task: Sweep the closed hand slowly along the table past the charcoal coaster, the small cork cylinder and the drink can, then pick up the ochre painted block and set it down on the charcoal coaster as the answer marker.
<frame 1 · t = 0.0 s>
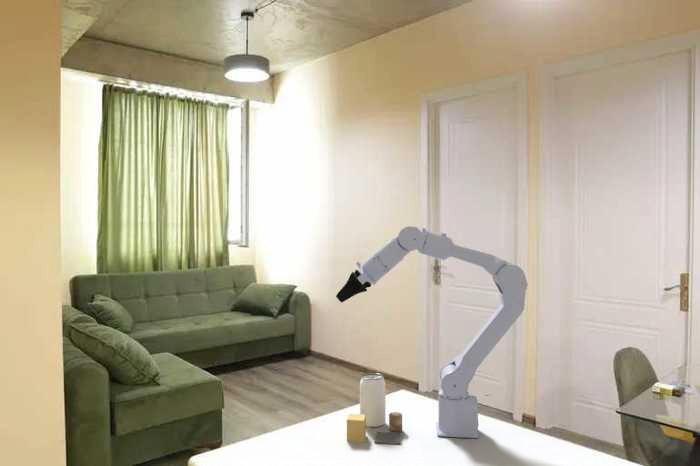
hand: (340, 297, 133), 32 cm above the table, tool tilted 50°, fingers open, 7 cm apart
ochre block: (356, 438, 125), on the table
can: (372, 424, 135), on the table
cork cylinder: (395, 430, 130), on the table
coaster: (388, 438, 125), on the table
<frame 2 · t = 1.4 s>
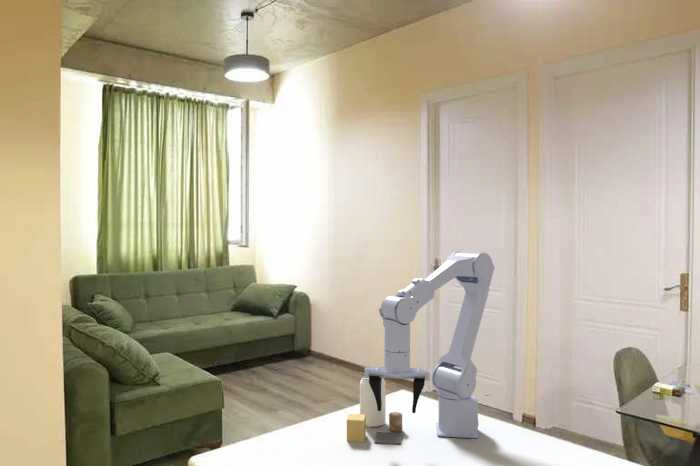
hand: (396, 410, 119), 9 cm above the table, tool pointing down, fingers open, 7 cm apart
nothing on the table moved.
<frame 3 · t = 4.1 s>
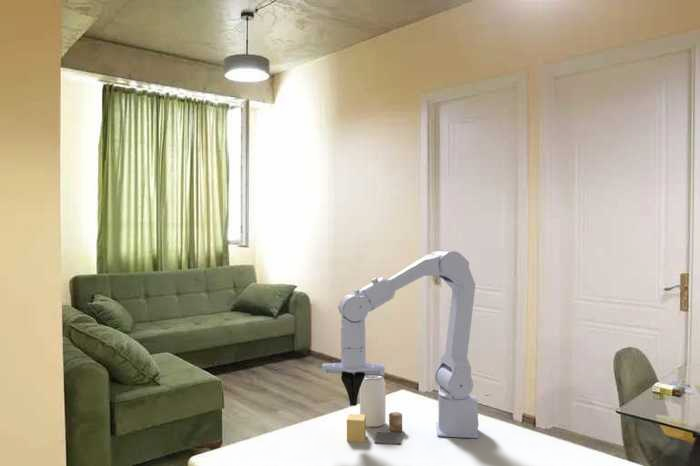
hand: (353, 404, 124), 8 cm above the table, tool pointing down, fingers closed
nothing on the table moved.
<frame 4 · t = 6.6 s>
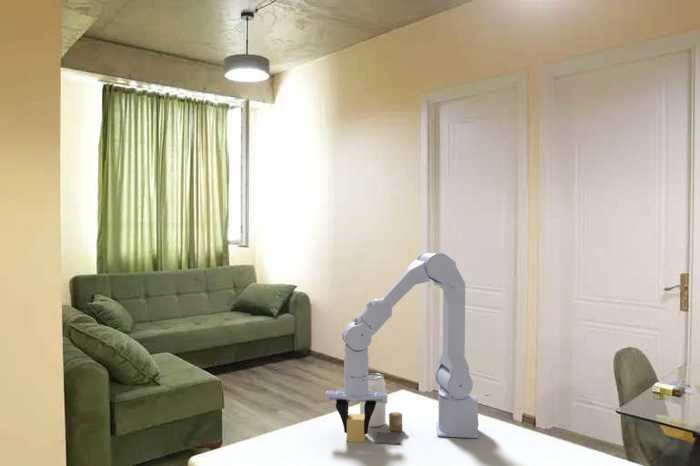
hand: (356, 432, 125), 1 cm above the table, tool pointing down, fingers closed on ochre block, 4 cm apart
ochre block: (356, 438, 125), on the table, touching gripper
everything else where it was.
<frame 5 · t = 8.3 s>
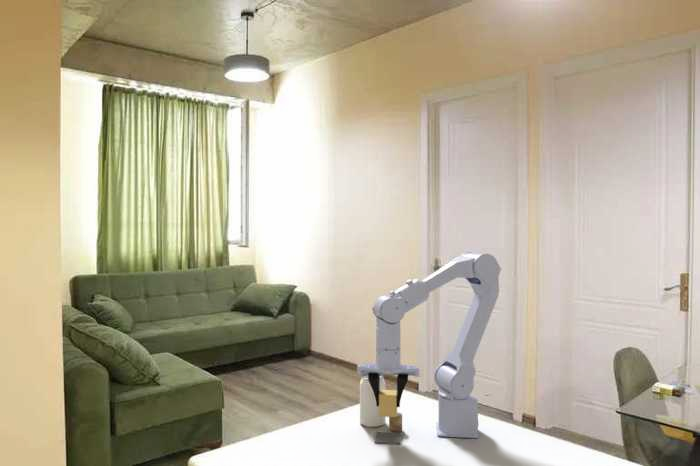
hand: (388, 405, 125), 8 cm above the table, tool pointing down, fingers closed on ochre block, 4 cm apart
ochre block: (388, 413, 125), point 6 cm above the table, touching gripper
everything else where it was.
when the fingers open (3 cm above the table, at t = 9.8 s): ochre block drops 1 cm, resting on coaster.
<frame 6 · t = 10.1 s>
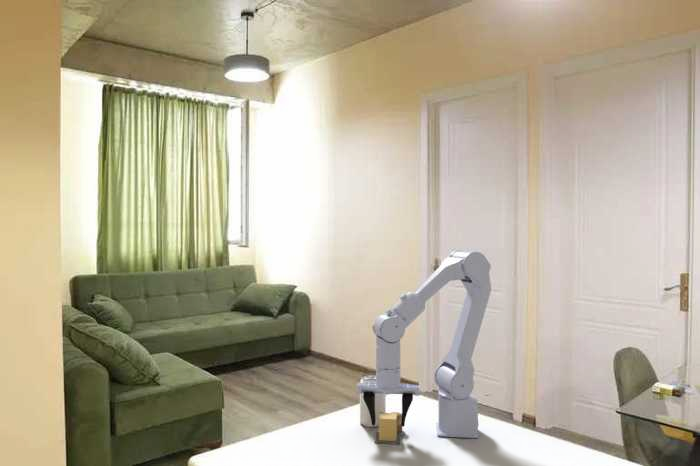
hand: (388, 424, 125), 3 cm above the table, tool pointing down, fingers open, 6 cm apart
ochre block: (388, 437, 125), resting on coaster
everything else where it was.
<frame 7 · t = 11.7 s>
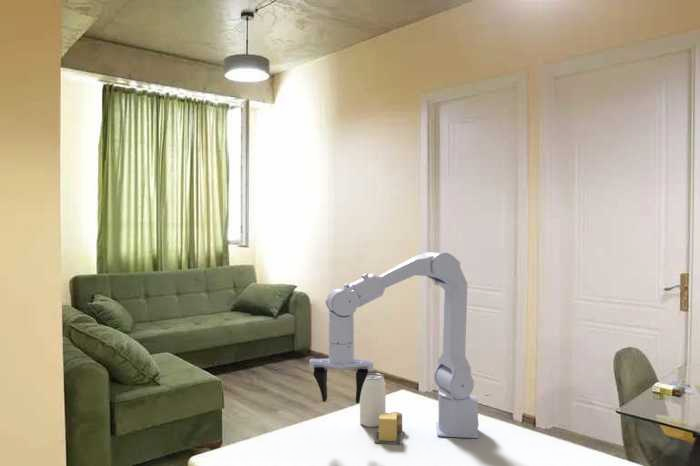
hand: (341, 400, 122), 10 cm above the table, tool pointing down, fingers open, 7 cm apart
nothing on the table moved.
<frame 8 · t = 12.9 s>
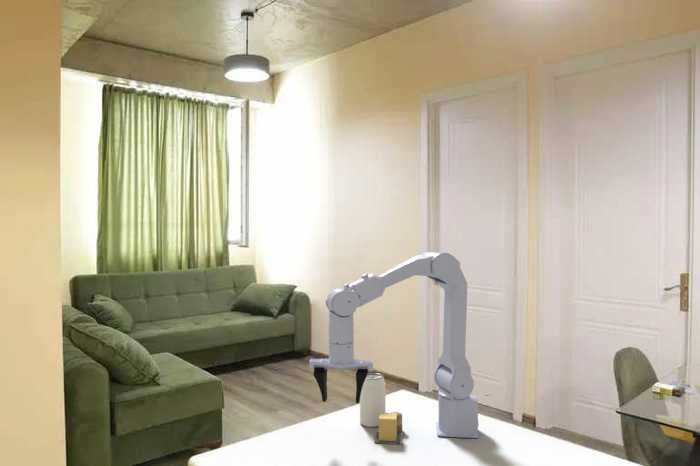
hand: (341, 401, 122), 10 cm above the table, tool pointing down, fingers open, 7 cm apart
nothing on the table moved.
at the end: ochre block 0.1 cm off-centre on the coaster, point 0.4 cm above the coaster's base; ochre block tilted 0°; the gripper is holding nothing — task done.
